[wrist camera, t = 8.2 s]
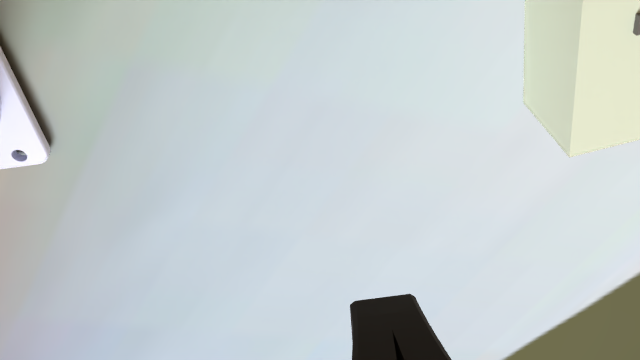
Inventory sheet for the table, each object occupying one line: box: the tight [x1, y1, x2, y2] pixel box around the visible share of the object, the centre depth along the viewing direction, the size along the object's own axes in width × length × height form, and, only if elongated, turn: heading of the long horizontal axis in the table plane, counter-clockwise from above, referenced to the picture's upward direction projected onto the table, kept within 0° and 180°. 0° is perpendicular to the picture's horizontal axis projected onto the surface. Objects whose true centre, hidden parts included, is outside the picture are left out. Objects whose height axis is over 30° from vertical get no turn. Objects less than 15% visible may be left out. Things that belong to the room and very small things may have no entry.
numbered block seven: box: [523, 0, 640, 157], centre depth 18 cm, size 6×6×4 cm
